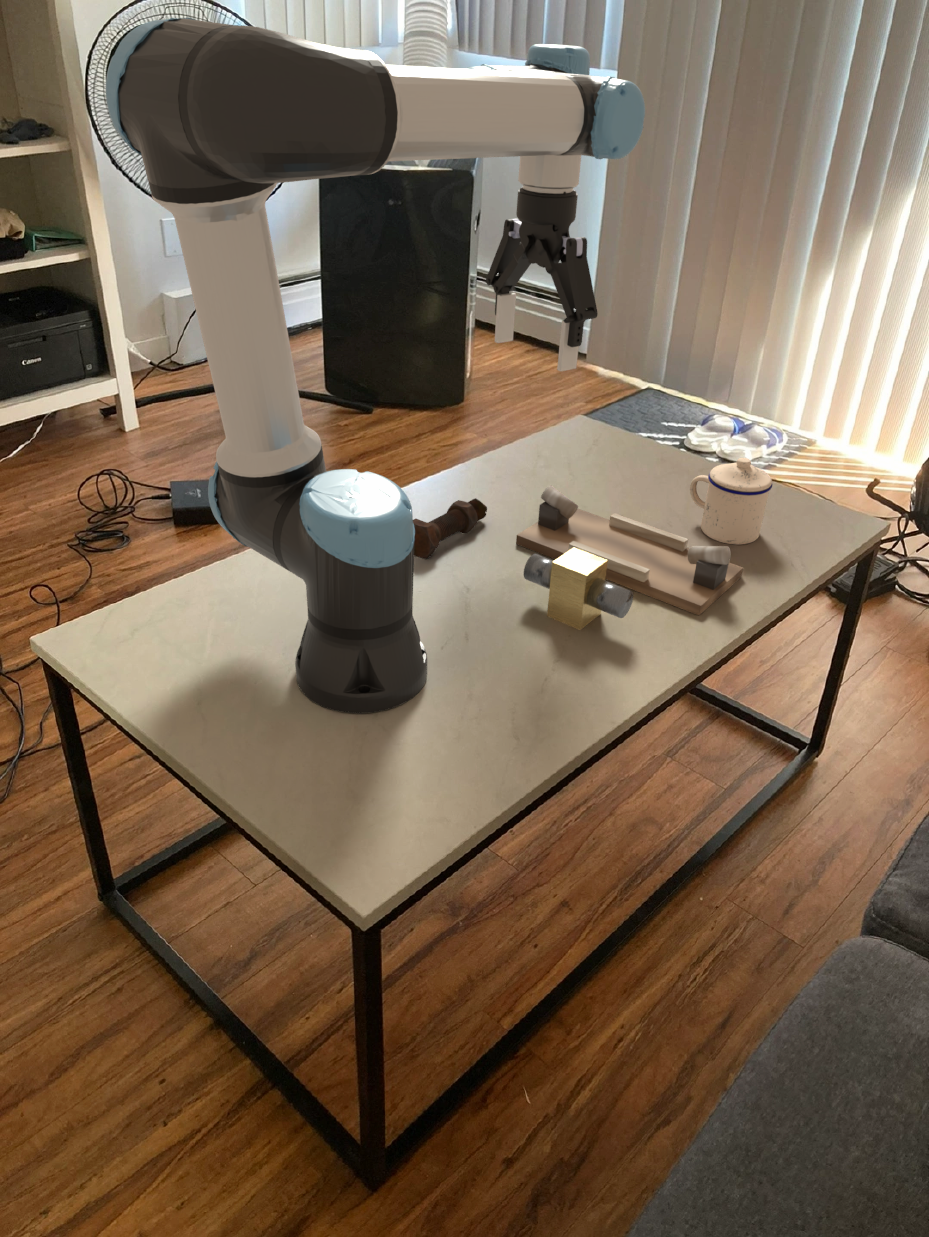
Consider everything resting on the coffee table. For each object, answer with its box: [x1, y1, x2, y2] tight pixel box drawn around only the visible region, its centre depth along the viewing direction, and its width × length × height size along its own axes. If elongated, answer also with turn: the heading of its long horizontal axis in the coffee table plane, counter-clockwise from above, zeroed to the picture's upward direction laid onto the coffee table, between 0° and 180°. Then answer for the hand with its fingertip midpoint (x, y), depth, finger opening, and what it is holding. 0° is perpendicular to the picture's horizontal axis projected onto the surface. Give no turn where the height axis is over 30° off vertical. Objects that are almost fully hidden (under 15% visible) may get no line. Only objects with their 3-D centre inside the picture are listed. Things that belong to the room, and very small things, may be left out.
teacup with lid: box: [689, 457, 773, 545], centre depth 145 cm, size 12×9×12 cm
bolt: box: [413, 497, 488, 560], centre depth 142 cm, size 6×5×15 cm
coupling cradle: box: [515, 484, 744, 616], centre depth 137 cm, size 13×29×7 cm, turn 52°
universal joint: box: [523, 548, 634, 631], centre depth 125 cm, size 5×14×8 cm, turn 52°
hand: (534, 355), depth 135 cm, fingers open, 13 cm apart
